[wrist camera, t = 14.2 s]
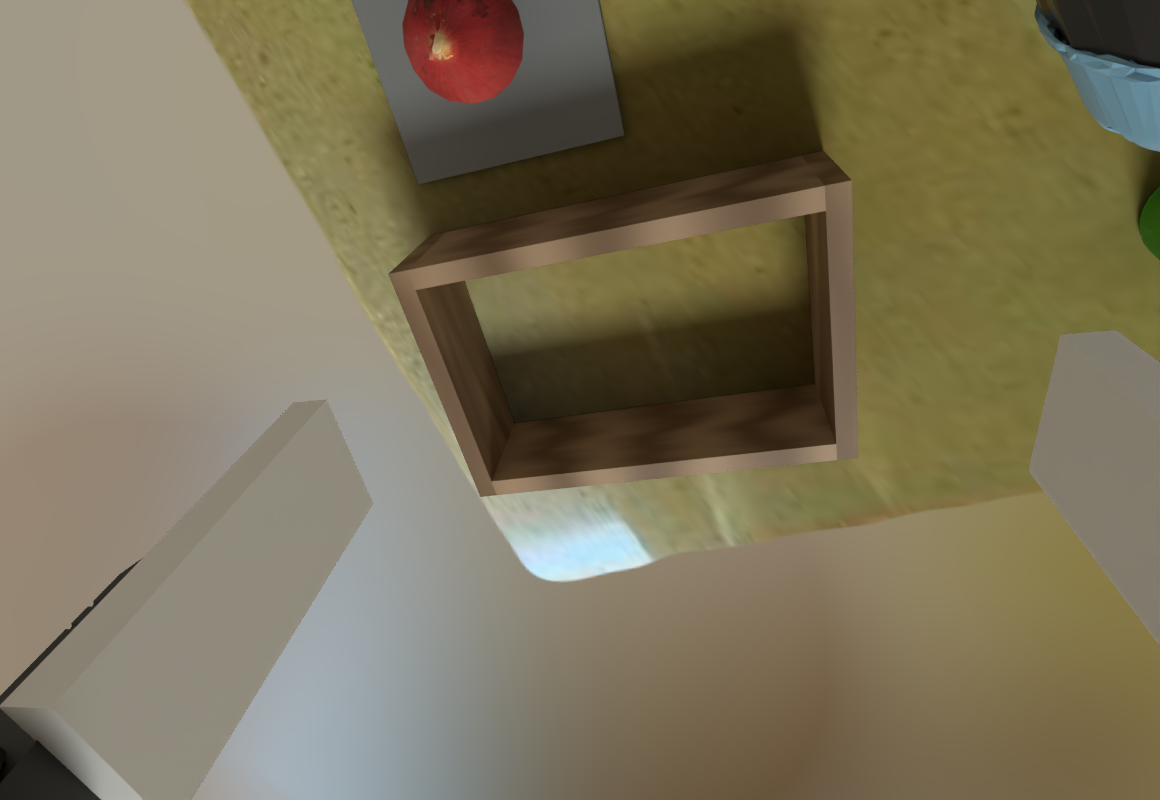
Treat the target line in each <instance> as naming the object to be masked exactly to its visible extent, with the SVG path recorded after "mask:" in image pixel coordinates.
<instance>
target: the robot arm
mask: <svg viewBox="0 0 1160 800" xmlns="http://www.w3.org/2000/svg"><path fill="white" fill-rule="evenodd" d="M1036 2H1037V5H1036V10H1035V18H1036V21H1037V23H1038V26H1039V29H1040V32H1041V34H1042V35H1043V37H1044V38H1045V40H1046V41H1047V42H1048V44H1049V45H1051V46H1052V47H1053V48H1054V49H1055V50H1057V51H1058V52H1059V53H1060V54H1061V56H1062V58H1063V60H1064V62H1065V64H1066V66H1067V68H1068V71H1069V73H1070V75H1071V77H1072V79H1073V81H1074V83H1075V86H1076V88H1077V90H1078V92H1079V94H1080V97H1081V99H1082V101H1083V103H1084V105H1085V107H1086V108H1087V110H1088V112H1089V113H1090V114H1091V115H1092V116H1093V117H1094V119H1095V120H1096V121H1097V122H1098V123H1099V124H1100V125H1101V126H1102V127H1104V128H1105V129H1107V130H1109V131H1112V132H1115V133H1118V134H1121V135H1122V136H1123V137H1125V138H1126V139H1127V140H1128V141H1131V142H1134V143H1136V144H1137V145H1138V146H1141V147H1144V148H1147V149H1149V150H1154V151H1158V152H1160V0H1036ZM1028 471H1029V472H1030V474H1031V475H1032V476H1033V478H1034V479H1035V480H1036V482H1037V483H1038V484H1039V486H1040V487H1041V488H1042V490H1043V491H1044V492H1045V494H1046V495H1047V496H1048V498H1049V499H1050V500H1051V502H1052V503H1053V504H1054V506H1055V507H1056V508H1057V510H1058V511H1059V512H1060V514H1061V515H1062V516H1063V518H1064V519H1065V520H1066V521H1067V523H1068V524H1069V526H1070V527H1071V528H1072V529H1073V531H1074V532H1075V533H1076V535H1077V536H1078V538H1079V539H1080V540H1081V541H1082V543H1083V544H1084V546H1085V547H1086V548H1087V549H1088V551H1089V552H1090V554H1091V555H1092V556H1093V558H1094V559H1095V560H1096V561H1097V563H1098V564H1099V565H1100V567H1101V568H1102V569H1103V571H1104V572H1105V574H1106V575H1107V576H1108V578H1109V579H1110V580H1111V581H1112V583H1113V584H1114V585H1115V587H1116V588H1117V590H1118V591H1119V592H1120V594H1121V595H1122V596H1123V597H1124V599H1125V600H1126V601H1127V603H1128V604H1129V605H1130V607H1131V608H1132V609H1133V611H1134V612H1135V613H1136V615H1137V616H1138V618H1139V619H1140V620H1141V621H1142V623H1143V624H1144V626H1145V627H1146V628H1147V630H1148V631H1149V632H1150V633H1151V635H1152V636H1153V638H1154V639H1155V640H1156V642H1157V643H1158V644H1159V645H1160V362H1158V361H1157V360H1156V359H1154V358H1153V357H1152V356H1150V355H1149V354H1148V353H1146V352H1145V351H1144V350H1142V349H1141V348H1140V347H1138V346H1137V345H1136V344H1134V343H1133V342H1131V341H1130V340H1129V339H1127V338H1126V337H1125V336H1123V335H1122V334H1121V333H1119V332H1118V331H1117V330H1110V331H1099V332H1087V333H1076V334H1065V335H1061V336H1060V341H1059V345H1058V349H1057V353H1056V357H1055V362H1054V366H1053V370H1052V374H1051V378H1050V382H1049V387H1048V391H1047V395H1046V399H1045V403H1044V408H1043V412H1042V416H1041V420H1040V424H1039V429H1038V433H1037V437H1036V441H1035V445H1034V450H1033V454H1032V458H1031V462H1030V466H1029V470H1028ZM372 505H373V502H372V500H371V498H370V495H369V493H368V491H367V488H366V486H365V484H364V482H363V479H362V477H361V475H360V473H359V470H358V468H357V466H356V464H355V461H354V459H353V457H352V455H351V453H350V450H349V448H348V446H347V444H346V441H345V439H344V437H343V435H342V432H341V430H340V428H339V426H338V423H337V421H336V419H335V417H334V414H333V412H332V410H331V408H330V406H329V404H328V401H327V400H318V401H306V402H295V403H293V404H292V405H291V406H290V407H289V408H288V409H287V410H286V411H285V412H284V413H283V414H282V415H281V416H280V417H279V418H278V419H277V420H276V421H275V422H274V423H273V424H272V425H271V426H270V427H269V428H268V429H267V430H266V432H265V433H263V435H262V436H261V437H260V438H259V439H258V440H257V441H256V442H255V443H254V444H253V445H252V446H251V447H250V448H249V449H248V450H247V451H246V452H245V453H244V454H243V455H242V456H241V457H240V458H239V459H238V460H237V461H236V462H235V463H234V464H233V465H232V466H231V468H230V469H229V470H228V471H227V472H226V473H225V474H224V475H223V476H222V477H221V478H220V479H219V480H218V481H217V482H216V483H215V484H214V485H213V486H212V487H211V488H210V489H209V490H208V491H207V492H206V493H205V494H204V495H203V496H202V498H200V500H199V501H198V502H197V503H196V504H195V505H194V506H193V507H192V508H191V509H190V510H189V511H188V512H187V513H186V514H185V515H184V516H183V517H182V518H181V519H180V520H179V521H178V522H177V523H176V524H175V525H174V527H172V528H171V530H169V531H168V532H167V534H166V535H165V536H164V537H163V538H162V539H161V540H160V541H159V542H158V543H157V544H156V545H155V546H154V547H153V548H152V549H151V550H150V551H149V552H148V553H147V554H146V555H145V556H144V557H143V558H142V559H141V560H139V561H138V562H136V563H135V564H133V565H132V566H131V567H129V568H128V569H127V570H125V571H124V572H123V573H121V574H120V575H119V576H118V577H117V578H116V579H115V580H114V581H113V582H112V583H111V584H110V585H109V586H108V587H107V588H106V589H105V590H104V591H103V592H102V593H101V594H100V595H99V596H98V597H97V598H96V599H95V600H94V604H93V606H92V607H87V608H86V609H85V610H84V611H83V612H82V613H81V614H80V615H79V616H78V617H77V618H76V619H75V620H74V621H73V622H72V627H71V629H65V630H64V632H63V633H62V634H61V635H60V636H59V637H58V638H57V639H56V640H55V641H54V642H53V643H52V644H51V645H50V646H49V647H48V648H47V649H46V650H45V651H44V652H43V653H42V654H41V655H40V656H39V657H38V658H37V659H36V660H35V661H34V662H33V663H32V664H31V665H30V666H29V667H28V668H27V669H26V670H25V671H24V672H23V673H22V674H21V675H20V676H19V677H18V678H17V679H16V680H15V681H14V682H13V684H11V686H10V687H8V689H7V690H6V691H5V692H4V693H3V694H2V695H1V696H0V800H192V798H193V796H194V795H195V793H196V791H197V790H198V788H199V787H200V785H201V783H202V782H203V780H204V778H205V777H206V775H207V774H208V772H209V770H210V768H211V767H212V765H213V764H214V762H215V760H216V759H217V757H218V756H219V754H220V752H221V751H222V749H223V747H224V746H225V744H226V743H227V741H228V739H229V738H230V736H231V734H232V733H233V731H234V730H235V728H236V726H237V724H238V723H239V721H240V720H241V718H242V716H243V715H244V713H245V712H246V710H247V708H248V707H249V705H250V703H251V702H252V700H253V699H254V697H255V695H256V694H257V692H258V690H259V688H260V687H261V686H262V684H263V682H264V681H265V679H266V677H267V676H268V674H269V672H270V671H271V669H272V667H273V666H274V664H275V663H276V661H277V659H278V658H279V656H280V655H281V653H282V651H283V650H284V648H285V646H286V645H287V643H288V641H289V640H290V638H291V636H292V635H293V633H294V632H295V630H296V628H297V627H298V625H299V624H300V622H301V620H302V619H303V617H304V615H305V613H306V612H307V610H308V609H309V607H310V606H311V604H312V602H313V601H314V599H315V597H316V596H317V594H318V592H319V591H320V589H321V588H322V586H323V584H324V583H325V581H326V580H327V578H328V576H329V575H330V573H331V571H332V570H333V568H334V566H335V565H336V563H337V561H338V560H339V558H340V557H341V555H342V553H343V552H344V550H345V549H346V547H347V545H348V544H349V542H350V540H351V539H352V537H353V536H354V534H355V532H356V531H357V529H358V527H359V526H360V524H361V522H362V521H363V519H364V517H365V516H366V514H367V513H368V511H369V509H370V508H371V506H372Z"/></svg>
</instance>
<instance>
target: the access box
mask: <svg viewBox="0 0 1160 800" xmlns="http://www.w3.org/2000/svg"><path fill="white" fill-rule="evenodd" d="M802 215H805V227H806V244H807V260H808V276H809V292H810V309H811V325H812V341H813V357H814V374H815V384H810V385H803V386H795V387H788V388H780V389H772V390H765V391H757V392H749V393H742V394H734V395H727V396H719V397H711V398H704V399H696V400H689V401H681V402H673V403H666V404H658V405H650V406H643V407H635V408H628V409H620V410H612V411H605V412H597V413H590V414H582V415H574V416H567V417H559V418H551V419H544V420H536V421H529V422H521V423H514V421H513V418H512V415H511V412H510V409H509V407H508V404H507V401H506V398H505V395H504V392H503V390H502V387H501V384H500V381H499V378H498V375H497V373H496V370H495V367H494V364H493V361H492V358H491V356H490V353H489V350H488V347H487V344H486V341H485V338H484V336H483V333H482V330H481V327H480V324H479V321H478V319H477V316H476V313H475V310H474V307H473V304H472V302H471V299H470V296H469V293H468V290H467V287H466V285H465V282H464V281H465V280H471V279H476V278H481V277H486V276H491V275H496V274H502V273H507V272H512V271H517V270H522V269H527V268H533V267H538V266H543V265H548V264H553V263H558V262H564V261H569V260H574V259H579V258H584V257H590V256H595V255H600V254H605V253H610V252H615V251H621V250H626V249H631V248H636V247H641V246H646V245H652V244H657V243H662V242H667V241H672V240H677V239H683V238H688V237H693V236H698V235H703V234H709V233H714V232H719V231H724V230H729V229H734V228H740V227H745V226H750V225H755V224H760V223H765V222H771V221H776V220H781V219H786V218H791V217H796V216H802ZM389 277H390V279H391V282H392V284H393V286H394V289H395V291H396V294H397V296H398V299H399V301H400V303H401V306H402V308H403V311H404V313H405V315H406V318H407V320H408V323H409V325H410V328H411V330H412V332H413V335H414V337H415V340H416V342H417V344H418V347H419V349H420V352H421V354H422V357H423V359H424V361H425V364H426V366H427V369H428V371H429V373H430V376H431V378H432V381H433V383H434V386H435V388H436V390H437V393H438V395H439V398H440V400H441V402H442V405H443V407H444V410H445V412H446V414H447V417H448V419H449V422H450V424H451V427H452V429H453V431H454V434H455V436H456V439H457V441H458V443H459V446H460V448H461V451H462V453H463V456H464V458H465V460H466V463H467V465H468V468H469V470H470V472H471V475H472V477H473V480H474V482H475V485H476V487H477V489H478V492H479V494H480V497H483V496H492V495H502V494H512V493H522V492H531V491H541V490H551V489H560V488H570V487H580V486H590V485H599V484H609V483H619V482H628V481H638V480H648V479H658V478H667V477H677V476H687V475H696V474H706V473H716V472H726V471H735V470H745V469H755V468H764V467H774V466H784V465H794V464H803V463H813V462H823V461H833V460H842V459H852V458H858V422H857V379H856V336H855V292H854V249H853V206H852V180H851V179H850V178H849V177H848V176H847V175H846V174H845V173H844V172H843V171H842V170H841V168H840V167H839V166H838V165H837V164H836V163H835V162H834V161H833V160H832V159H831V158H830V157H829V156H828V155H827V154H826V153H825V152H824V151H820V152H815V153H811V154H806V155H802V156H797V157H792V158H788V159H783V160H778V161H774V162H769V163H764V164H760V165H755V166H750V167H746V168H741V169H736V170H732V171H727V172H723V173H718V174H713V175H709V176H704V177H699V178H695V179H690V180H685V181H681V182H676V183H671V184H667V185H662V186H657V187H653V188H648V189H643V190H639V191H634V192H630V193H625V194H620V195H616V196H611V197H606V198H602V199H597V200H592V201H588V202H583V203H578V204H574V205H569V206H564V207H560V208H555V209H551V210H546V211H541V212H537V213H532V214H527V215H523V216H518V217H513V218H509V219H504V220H499V221H495V222H490V223H485V224H481V225H476V226H471V227H467V228H462V229H458V230H453V231H448V232H444V233H439V234H434V235H430V236H429V237H428V238H427V239H426V240H425V241H424V242H423V243H421V244H420V245H419V246H418V247H417V248H416V249H415V250H414V251H413V252H412V253H411V254H410V255H408V256H407V257H406V258H405V259H404V260H403V261H402V262H401V263H400V264H399V265H398V266H397V267H396V268H394V269H393V270H392V271H391V272H390V273H389Z"/></svg>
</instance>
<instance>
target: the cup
mask: <svg viewBox="0 0 1160 800" xmlns="http://www.w3.org/2000/svg"><path fill="white" fill-rule="evenodd" d="M1140 234H1141V237H1142V240H1143V243H1144V244H1145V245H1146V247H1147V248H1148V249H1149V250H1150V251H1151V252H1152V253H1153V254H1154V255H1155V256H1156V257H1157V258H1158V259H1159V260H1160V186H1159V187H1158V188H1157V189H1156V191H1155V192H1154V193H1153V194H1152V195H1151V196H1150V198H1149V199H1148V201H1147V203H1146V204H1145V206H1144V208H1143V210H1142V214H1141V217H1140Z"/></svg>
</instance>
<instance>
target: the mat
mask: <svg viewBox="0 0 1160 800" xmlns="http://www.w3.org/2000/svg"><path fill="white" fill-rule="evenodd" d="M512 1H513V2H514V4H515V6H516V7H517V9H518V11H519V15H520V19H521V24H522V28H523V32H524V41H523V57H522V62H521V64H520V66H519V68H518V70H517V72H516V74H515V76H514V78H513V80H512V83H511V84H509V85H508V86H507V87H506V88H505V89H504V90H503V91H501V92H500V93H499V94H498V95H497V96H496V97H495V98H492V99H489V100H486V101H483V102H480V103H476V104H468V103H460V102H451V101H448V100H446V99H444V98H443V97H441V96H439V95H437V94H435V93H434V92H432V91H430V90H429V89H428V88H427V87H426V85H425V84H424V83H423V81H422V80H421V79H420V78H419V76H418V75H417V74H416V72H415V71H414V70H413V68H412V65H411V63H410V60H409V58H408V56H407V53H406V51H405V49H404V39H403V26H402V23H403V19H404V15H405V11H406V8H407V4H408V0H352V3H353V5H354V8H355V11H356V14H357V17H358V19H359V22H360V25H361V28H362V30H363V33H364V36H365V39H366V41H367V44H368V47H369V50H370V52H371V55H372V58H373V61H374V64H375V66H376V69H377V72H378V75H379V77H380V80H381V83H382V86H383V88H384V91H385V94H386V97H387V99H388V102H389V105H390V108H391V111H392V113H393V116H394V119H395V122H396V124H397V127H398V130H399V133H400V135H401V138H402V141H403V144H404V147H405V149H406V152H407V155H408V158H409V160H410V163H411V166H412V169H413V171H414V174H415V177H416V180H417V182H418V184H423V183H427V182H431V181H435V180H440V179H444V178H448V177H452V176H456V175H461V174H465V173H469V172H473V171H477V170H482V169H486V168H490V167H494V166H498V165H503V164H507V163H511V162H515V161H519V160H524V159H528V158H532V157H536V156H540V155H545V154H549V153H553V152H557V151H562V150H566V149H570V148H574V147H578V146H583V145H587V144H591V143H595V142H599V141H604V140H608V139H612V138H616V137H620V136H624V135H625V131H624V126H623V121H622V116H621V110H620V105H619V100H618V95H617V90H616V84H615V79H614V74H613V69H612V64H611V58H610V53H609V48H608V43H607V38H606V32H605V27H604V22H603V17H602V12H601V7H600V1H599V0H512Z"/></svg>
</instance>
